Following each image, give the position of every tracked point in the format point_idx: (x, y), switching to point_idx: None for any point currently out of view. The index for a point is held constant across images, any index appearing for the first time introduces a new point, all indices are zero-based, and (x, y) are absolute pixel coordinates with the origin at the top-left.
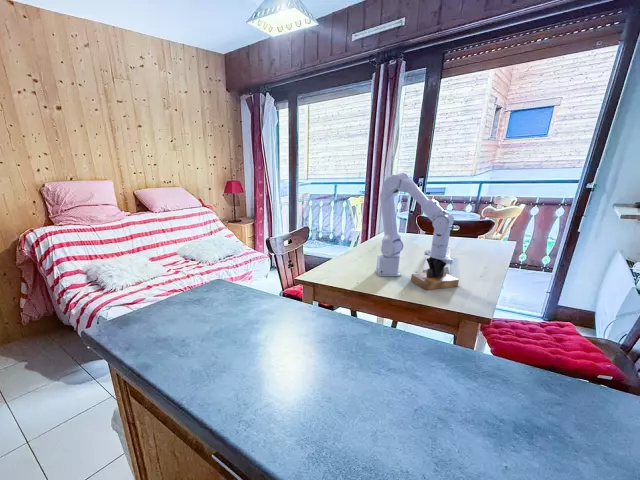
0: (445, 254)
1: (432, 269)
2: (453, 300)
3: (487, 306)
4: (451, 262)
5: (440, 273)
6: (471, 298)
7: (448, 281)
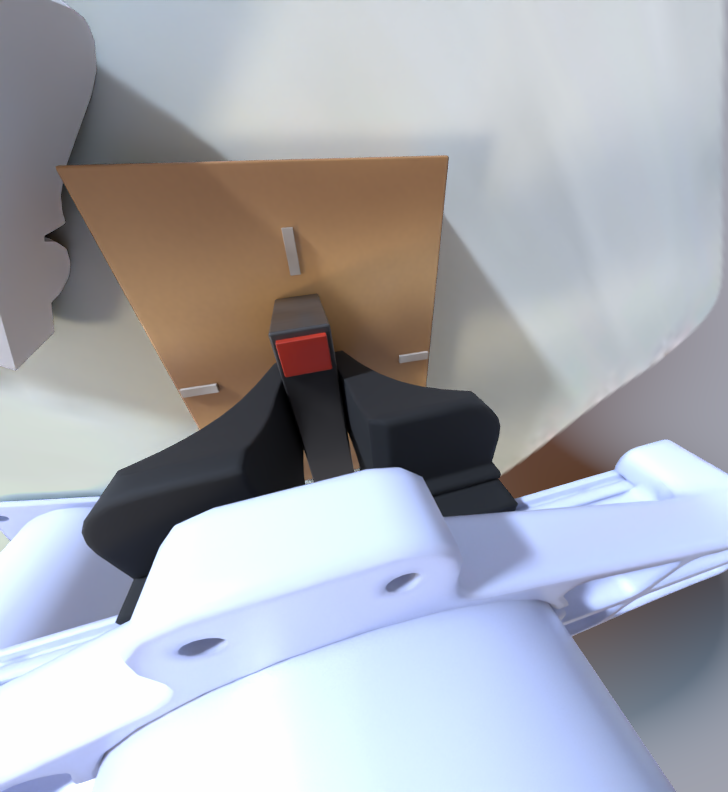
0: (602, 685)
1: (344, 459)
2: (557, 356)
3: (710, 219)
4: (693, 476)
5: (353, 358)
6: (606, 236)
7: (430, 299)
